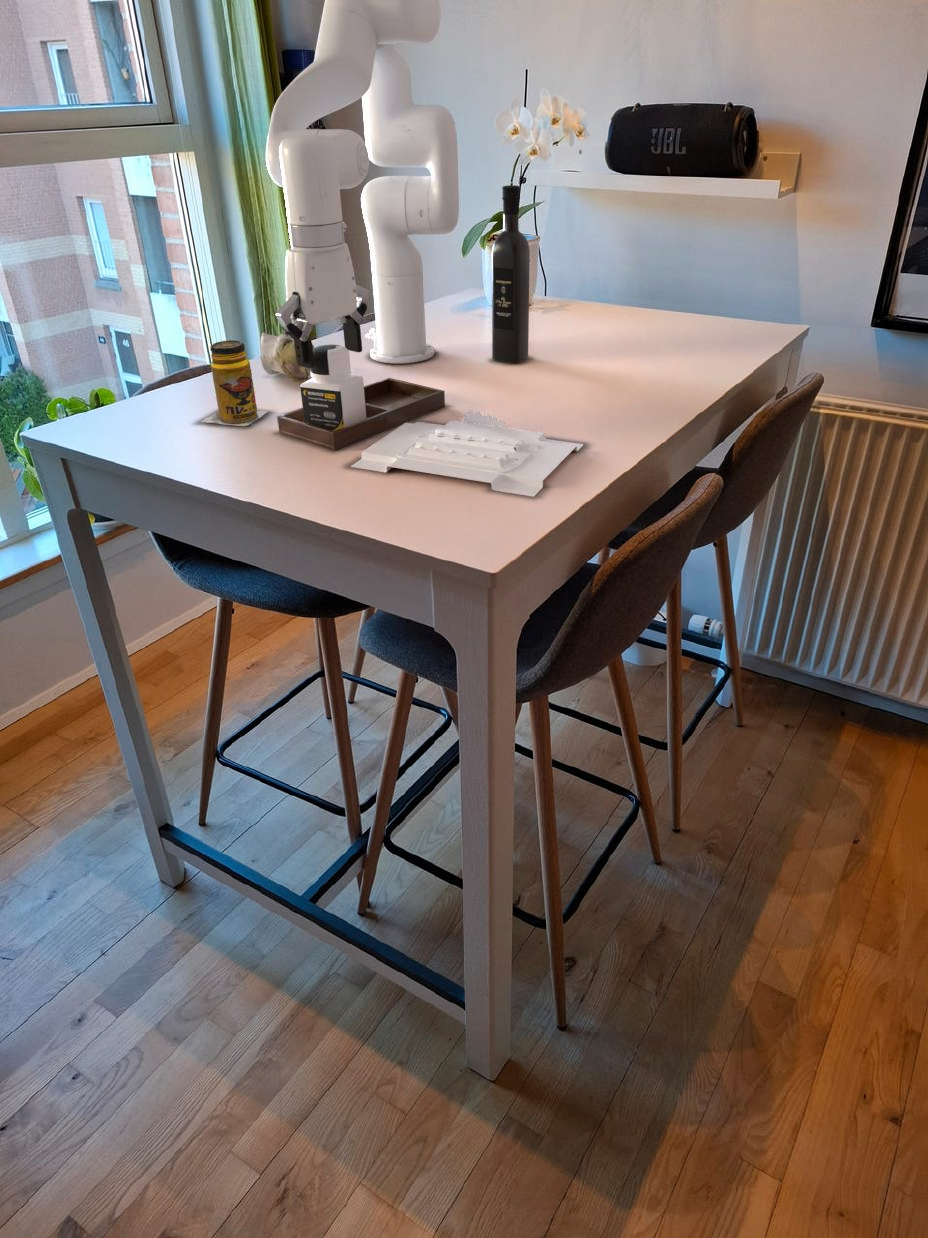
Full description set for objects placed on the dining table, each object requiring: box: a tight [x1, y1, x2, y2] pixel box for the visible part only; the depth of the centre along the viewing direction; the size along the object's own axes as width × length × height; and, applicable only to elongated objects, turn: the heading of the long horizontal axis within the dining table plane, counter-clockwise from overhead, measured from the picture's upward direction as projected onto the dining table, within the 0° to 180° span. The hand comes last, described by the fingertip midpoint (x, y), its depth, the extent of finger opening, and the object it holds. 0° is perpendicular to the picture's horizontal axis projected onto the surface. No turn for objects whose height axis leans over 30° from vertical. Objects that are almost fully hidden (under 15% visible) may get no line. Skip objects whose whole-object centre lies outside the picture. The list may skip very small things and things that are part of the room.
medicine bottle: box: [299, 344, 366, 431], centre depth 135 cm, size 7×7×12 cm
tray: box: [349, 410, 584, 498], centre depth 127 cm, size 20×28×4 cm
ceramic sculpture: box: [259, 331, 315, 383], centre depth 161 cm, size 11×9×15 cm
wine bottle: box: [491, 184, 531, 364], centre depth 162 cm, size 6×6×30 cm
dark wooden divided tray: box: [276, 377, 446, 451], centre depth 141 cm, size 13×25×3 cm, turn 140°
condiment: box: [200, 339, 269, 427], centre depth 141 cm, size 7×8×12 cm
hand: (330, 358), depth 133 cm, fingers open, 9 cm apart
